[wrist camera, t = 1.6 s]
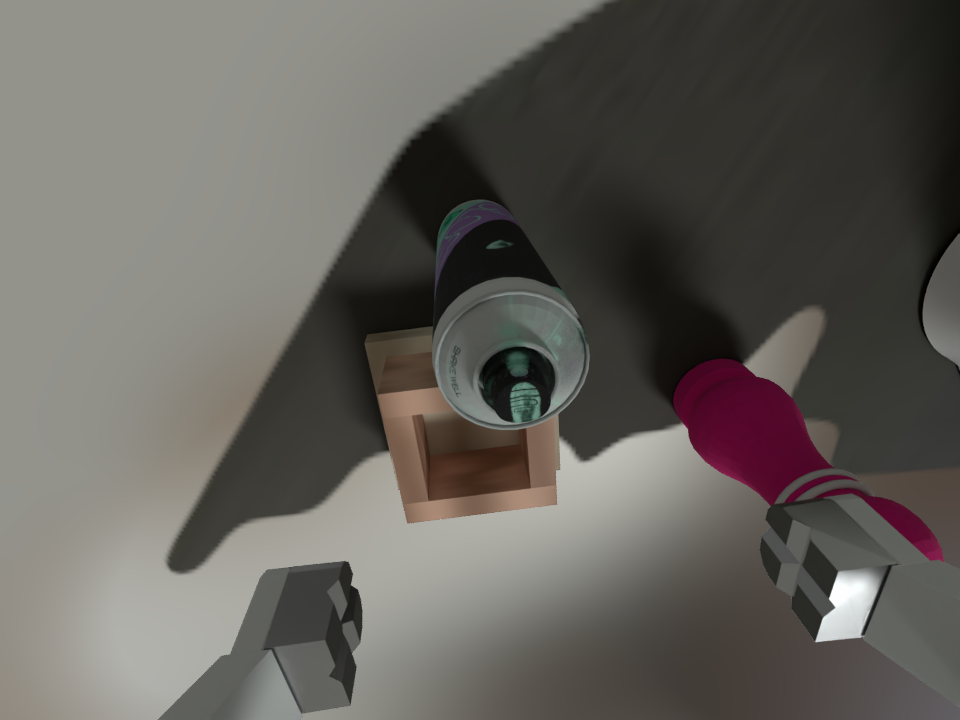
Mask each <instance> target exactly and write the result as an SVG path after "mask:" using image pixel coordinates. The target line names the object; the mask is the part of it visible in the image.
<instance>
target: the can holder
mask: <svg viewBox="0 0 960 720" xmlns="http://www.w3.org/2000/svg"><path fill="white" fill-rule="evenodd" d="M432 336H433V326H432V327H424V328H415V329H407V330H399V331H391V332H383V333H374V334H367V337H366V340H365V343H364V344H365V348H366V352H367V357H368V361H369V365H370V370H371V374H372V378H373V382H374V387H375V391H376V395H377V400H378V404H379V408H380V413H381V417H382V421H383V425H384V430H385V434H386V438H387V443H388V447H389V451H390V455H391V459H392V464H393V468H394V473H395V476H396V481H397V485H398V489H399V490H400V494H401V498H402V502H403V507H404V511H405V515H406V519H407V523H415V522H423V521H431V520H439V519H446V518H454V517H462V516H470V515H477V514H486V513H494V512H502V511H510V510H517V509H525V508H533V507H541V506H549V505H557V495H556V470H560V453H559V424H558V414H557V415H556V416H554V417H552V418H550V419H549V420H547V421H545V422H543V423H540V424H537V425H535V426H532V427H528V428H523V429H518V430H499V429H491V428H487V427H484V426H480V425H477V424H475V423H473V422H471V421H469V420H467V419H465V418H464V417H462V416H461V415H460V414H458V413H457V412H456V411H455V410H453V408H452V407H451V406H450V405H449V404H448V402H447V401H446V400H445V399H444V397H443V395H442V393H441V391H440V389H439V387H438V383H437V380H436V376H435V372H434V368H433V364H432Z"/></svg>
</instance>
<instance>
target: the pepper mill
mask: <svg viewBox="0 0 960 720" xmlns="http://www.w3.org/2000/svg"><path fill="white" fill-rule="evenodd" d="M673 405H674V409H675V412H676V414H677V416H678V417H679V418H680V420H681V421H682V422H683V424H684V425H685V426H686V427H687V428H688V433H689V439H690V442H691V444H692V445H693V448H694V449H695V450H696V451H697V453H698V454H699V455H700V456H701V457H702V458H703V459H704V460H705V462H707V463H708V464H710V465H711V466H712V467H714V468H715V469H717V470H718V471H719V472H721V473H722V474H725V475H727V476H729V477H731V478H733V479H735V480H737V481H740V482H742V483H743V484H745V485H747V486H749V487H750V488H752V489H753V490H754V491H756V492H757V493H759V494H760V495H761V496H762V497H763V498H764V499H765V500H766V501H767V502H768V503H769V504H770V506H772V505H773V504H779V503H786V502H793V501H800V500H807V499H814V498H824V497H830V496H837V495H844V494H854V495H856V496H858V497H860V498H862V499H863V500H864V501H865V502H866V503H867V504H868V505H869V506H870V507H872V508H873V509H874V510H875V511H876V512H877V513H878V514H879V515H880V516H881V517H883V518H884V519H885V520H886V521H887V522H888V523H889V524H890V525H891V526H892V527H894V528H895V529H896V530H897V531H898V532H899V533H900V534H901V535H902V536H904V537H905V538H906V539H907V540H908V541H909V542H910V543H911V544H912V545H913V546H915V547H916V548H917V549H918V550H919V551H920V552H921V553H922V554H923V555H924V556H926V557H927V558H928V559H929V560H930V561H932V560H940V561H943V562H944V560H943V554H942V549H941V547H940V545H939V543H938V541H937V539H936V537H935V536H934V534H933V533H932V532H931V530H930V529H929V528H928V527H927V526H926V525H925V524H924V523H923V521H922V520H921V519H920V518H919V517H918V516H916V515H915V514H914V513H912V512H911V511H910V510H908V509H907V508H906V507H904V506H902V505H901V504H899V503H896V502H894V501H892V500H888V499H884V498H881V497H875V495H874V493H873V492H872V490H871V489H870V488H869V487H867V486H866V485H865V484H863V483H861V482H860V480H859V479H858V478H857V477H856V476H855V475H854V474H852V473H851V472H848V471H846V470H841V469H835V468H834V467H832V466H831V465H830V464H829V463H828V462H827V461H826V460H825V459H824V458H823V457H822V456H821V454H820V453H819V452H818V451H817V449H816V448H815V446H814V444H813V443H812V441H811V440H810V437H809V435H808V432H807V429H806V425H805V422H804V419H803V416H802V414H801V412H800V410H799V408H798V407H797V405H796V403H795V402H794V400H793V399H792V398H791V397H790V396H789V395H788V394H787V393H786V392H785V391H784V390H783V389H782V388H781V387H780V386H778V385H777V384H775V383H774V382H772V381H770V380H768V379H764V378H760V377H756V376H755V375H754V374H753V373H752V372H751V371H749V370H748V369H747V368H746V367H745V366H744V365H742V364H741V363H739V362H737V361H734V360H730V359H715V360H710V361H707V362H704V363H701V364H699V365H697V366H696V367H694V368H693V369H691V370H690V371H688V373H687V374H686V375H685V376H684V377H683V378H682V379H681V380H680V382H679V384H678V386H677V387H676V390H675V393H674V398H673Z"/></svg>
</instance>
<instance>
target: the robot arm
mask: <svg viewBox="0 0 960 720" xmlns="http://www.w3.org/2000/svg"><path fill="white" fill-rule="evenodd" d="M923 325H924V329H925V333H926V335H927V338H928V340H929V341H930V343H931V344H932V346H933V347H934V348H935V349H936V350H937V351H938V352H939V353H941V354H942V355H943V356H945V357H947V358H948V359H950V360H952V361H953V362H954V363H956V364H957V365H958V367H959V370H960V233H959V234H958V235H957V237H956V238H955V239H954V240H953V242H952V243H951V244H950V246H949V247H948V248H947V250H946V251H945V253H944V254H943V256H942V257H941V259H940V261H939V263H938V264H937V266H936V268H935V270H934V272H933V274H932V277H931V279H930V281H929V284H928V287H927V290H926V294H925V298H924V304H923ZM765 520H766V521H767V522H768V524H769V525H770V526H771V528H770V529H769V530H768V531H767V532H766V533H765V534H764V535H763V536H762V537H761V544H760V554H761V558H762V563H763V566H764V568H765V570H766V572H767V574H768V576H769V577H770V579H771V580H772V582H773V583H774V585H775V586H776V587H777V588H779V589H781V590H782V591H784V592H785V593H787V594H788V595H790V596H792V599H791V609H792V610H793V612H794V613H795V614H796V616H797V617H798V619H799V620H800V621H801V623H802V624H803V626H804V627H805V628H806V630H807V631H808V632H809V634H810V635H811V637H812V638H813V639H814V641H815V642H820V641H829V640H839V639H848V638H858V637H864V638H863V640H864V641H866V642H867V643H869V644H870V645H871V646H873V647H874V648H876V649H877V650H878V651H880V652H881V653H883V654H884V655H886V656H887V657H888V658H890V659H891V660H893V661H894V662H895V663H897V664H898V665H900V666H901V667H902V668H904V669H905V670H907V671H908V672H910V673H911V674H912V675H914V676H915V677H917V678H918V679H919V680H921V681H922V682H924V683H925V684H927V685H928V686H929V687H931V688H932V689H934V690H935V691H937V692H938V693H939V694H941V695H942V696H943V697H945V698H946V699H948V700H949V701H951V702H952V703H953V704H955V705H956V706H958V707H959V708H960V569H958V568H956V567H954V566H951V565H949V564H947V563H945V562H943V561H940V560H932V561H930V560H929V559H928V558H927V557H926V556H924V555H923V554H922V553H921V552H920V551H919V550H918V549H917V548H916V547H915V546H913V545H912V544H911V543H910V542H909V541H908V540H907V539H906V538H905V537H904V536H902V535H901V534H900V533H899V532H898V531H897V530H896V529H895V528H894V527H892V526H891V525H890V524H889V523H888V522H887V521H886V520H885V519H884V518H883V517H881V516H880V515H879V514H878V513H877V512H876V511H875V510H874V509H873V508H872V507H870V506H869V505H868V504H867V503H866V502H865V501H864V500H863V499H862V498H860V497H858V496H856V495H854V494H844V495H837V496H830V497H824V498H814V499H807V500H800V501H793V502H786V503H779V504H773V505H772V506H771V507H770V508H769V509H768V510H767V515H766V519H765ZM352 576H353V573H352V570H351V567H350V564H349V562H346V561H342V562H333V563H323V564H313V565H304V566H294V567H288V568H279V569H270V570H266V572H265V573H264V574H263V575H262V576H261V578H260V579H259V582H258V585H257V587H256V590H255V592H254V595H253V598H252V600H251V602H250V605H249V608H248V610H247V613H246V615H245V618H244V620H243V623H242V625H241V628H240V630H239V633H238V636H237V638H236V641H235V643H234V646H233V648H232V651H231V654H230V655H224V656H221V657H220V658H219V659H218V660H217V661H216V662H215V663H214V664H213V665H212V666H211V667H210V668H209V669H208V670H207V671H206V672H205V673H204V674H203V675H202V676H201V677H200V678H199V679H198V680H197V681H196V682H195V683H194V684H193V685H192V686H191V687H190V688H189V689H188V690H187V691H186V692H185V693H184V694H183V695H182V696H181V697H180V698H179V699H178V700H177V701H176V702H175V703H174V704H173V705H172V706H171V707H170V708H169V709H168V710H167V711H166V712H165V713H164V714H163V715H162V716H161V717H160V718H159V719H158V720H301V718H302V713H308V712H314V711H320V710H326V709H332V708H338V707H344V706H350V705H351V699H352V693H353V686H354V680H355V673H356V664H355V661H354V658H353V655H352V653H353V651H354V650H355V649H356V648H357V646H358V645H359V644H360V640H361V633H362V604H361V598H360V595H359V592H358V590H357V589H356V588H354V587H353V586H351V582H352Z"/></svg>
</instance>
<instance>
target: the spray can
mask: <svg viewBox="0 0 960 720" xmlns="http://www.w3.org/2000/svg"><path fill="white" fill-rule="evenodd" d="M589 359H590V354H589V344H588V341H587V338H586V334H585V330H584V327H583V324H582V321H581V319H580V317H579V316H578V314H577V312H576V311H575V309H574V308H573V306H572V305H571V303H570V301H569V300H568V298H567V297H566V295H565V294H564V292H563V291H562V289H561V288H560V286H559V285H558V283H557V282H556V280H555V279H554V277H553V276H552V274H551V273H550V271H549V270H548V268H547V267H546V265H545V264H544V262H543V261H542V259H541V258H540V256H539V255H538V253H537V252H536V250H535V249H534V247H533V246H532V244H531V243H530V241H529V240H528V238H527V237H526V235H525V234H524V232H523V231H522V229H521V228H520V226H519V225H518V223H517V222H516V220H515V219H514V217H513V216H512V215H511V214H510V213H509V212H508V210H506V209H505V208H504V207H502V206H501V205H499V204H497V203H495V202H492V201H488V200H471V201H467V202H464V203H462V204H460V205H458V206H457V207H455V208H454V209H452V210H451V211H450V213H449V214H448V215H447V216H446V217H445V219H444V220H443V222H442V224H441V227H440V229H439V232H438V239H437V255H436V275H435V295H434V316H433V336H432V364H433V368H434V372H435V376H436V380H437V383H438V387H439V389H440V391H441V393H442V395H443V397H444V399H445V400H446V401H447V402H448V404H449V405H450V406H451V407H452V408H453V410H455V411H456V412H457V413H458V414H460V415H461V416H462V417H464V418H465V419H467V420H469V421H471V422H473V423H475V424H477V425H480V426H484V427H487V428H491V429H499V430H518V429H523V428H528V427H532V426H535V425H537V424H540V423H543V422H545V421H547V420H549V419H550V418H552V417H554V416H556V415H557V414H558V413H560V412H561V411H562V410H563V409H564V408H566V407H567V406H568V405H569V404H570V403H571V401H572V400H573V399H574V398H575V397H576V396H577V394H578V392H579V391H580V389H581V387H582V385H583V384H584V381H585V378H586V375H587V372H588V368H589Z"/></svg>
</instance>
